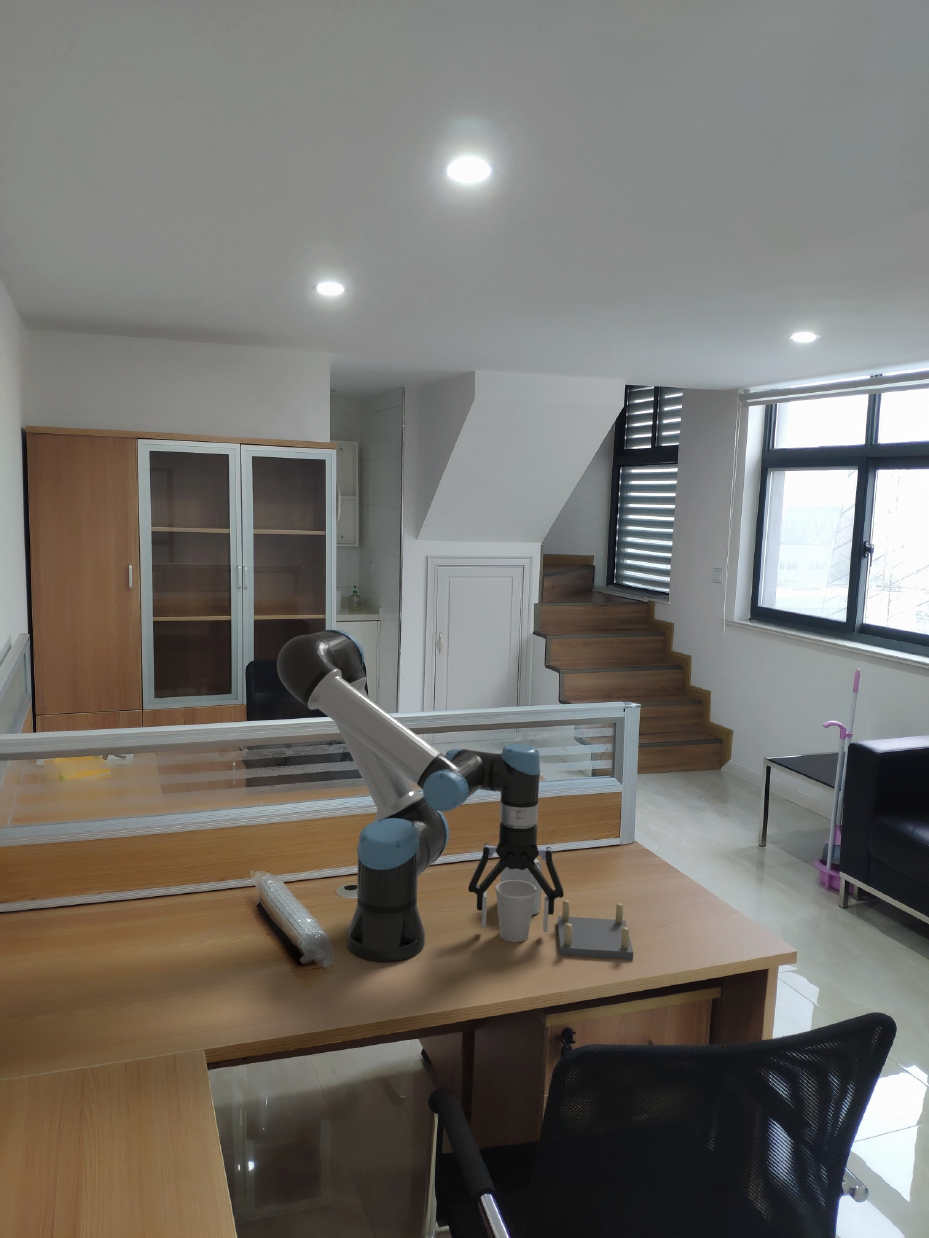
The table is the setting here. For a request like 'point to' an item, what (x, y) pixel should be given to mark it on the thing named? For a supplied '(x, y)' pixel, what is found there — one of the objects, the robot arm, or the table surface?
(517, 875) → the photo printer
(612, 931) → the plate
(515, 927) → the dixie cup
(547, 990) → the table surface
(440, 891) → the table surface
